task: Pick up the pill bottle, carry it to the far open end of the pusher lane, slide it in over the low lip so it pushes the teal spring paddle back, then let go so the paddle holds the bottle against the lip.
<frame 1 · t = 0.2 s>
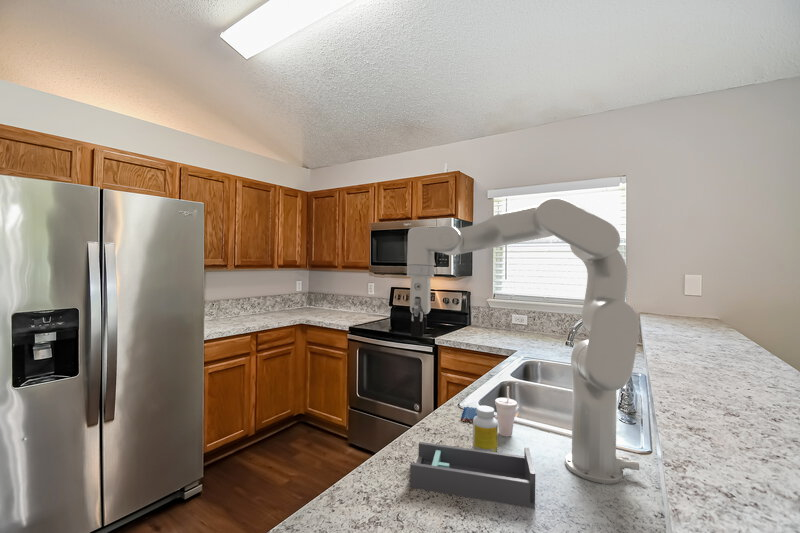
hand: (418, 333, 98), 31 cm above the worktop, tool pointing down, fingers open, 9 cm apart
pusher paddle: (441, 465, 82), point 3 cm above the worktop, slide at 0.0 cm
pill bottle: (484, 453, 94), on the worktop
lane: (470, 482, 80), on the worktop
smoothie: (505, 434, 105), on the worktop
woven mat: (478, 419, 117), on the worktop
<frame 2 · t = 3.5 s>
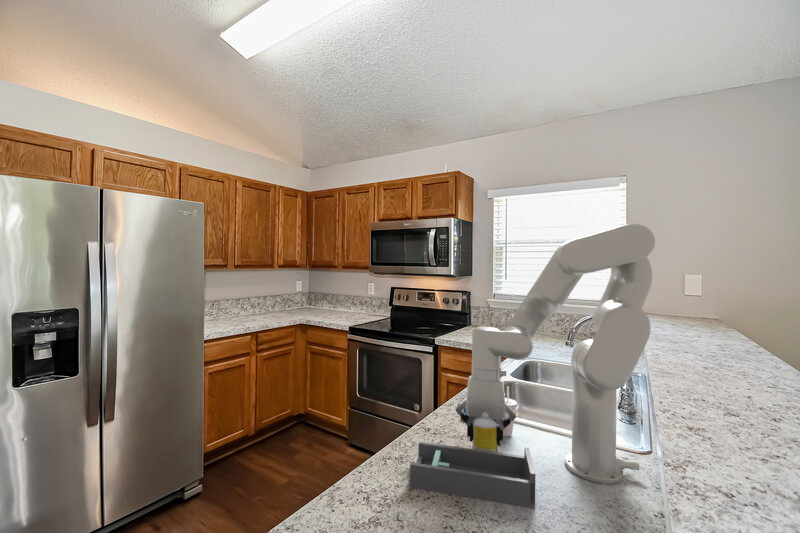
hand: (484, 440, 94), 3 cm above the worktop, tool pointing down, fingers closed on pill bottle, 6 cm apart
pill bottle: (484, 453, 94), on the worktop, touching gripper
everything else where it was.
when the fingers open (6 cm above the worktop, at t = 12.9 s): pill bottle drops 2 cm, resting on lane, pusher paddle.
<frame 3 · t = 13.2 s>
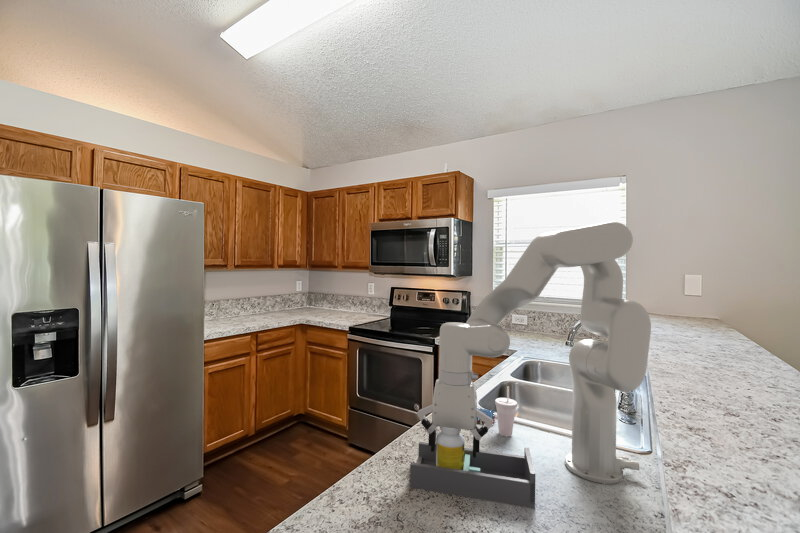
hand: (453, 451, 81), 6 cm above the worktop, tool pointing down, fingers open, 9 cm apart
pusher paddle: (472, 470, 80), point 3 cm above the worktop, slide at 7.0 cm, touching pill bottle
pill bottle: (449, 475, 81), point 1 cm above the worktop, touching lane, pusher paddle
everything else where it was.
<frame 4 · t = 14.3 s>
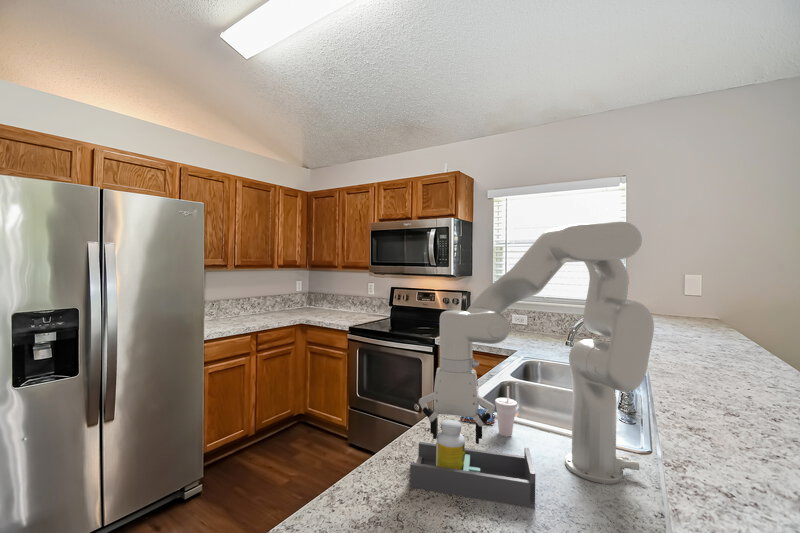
hand: (456, 438, 81), 9 cm above the worktop, tool pointing down, fingers open, 9 cm apart
nothing on the worktop moved.
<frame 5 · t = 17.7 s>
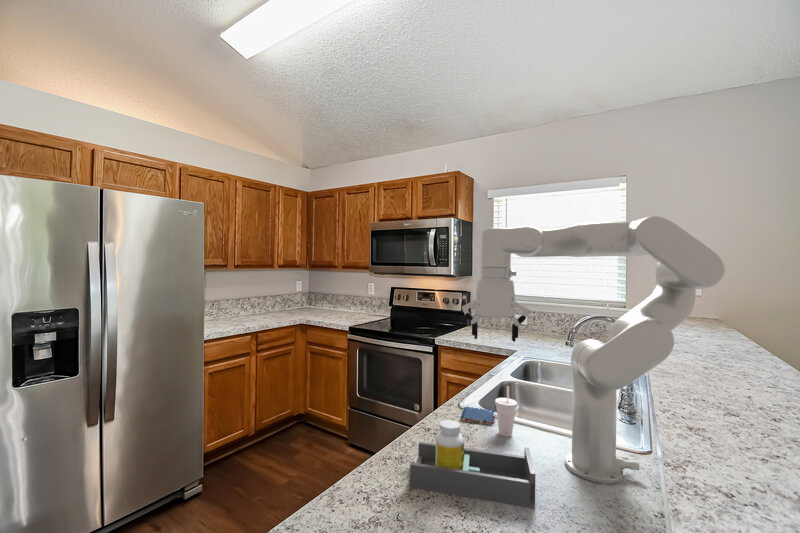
hand: (494, 339, 93), 30 cm above the worktop, tool pointing down, fingers open, 9 cm apart
nothing on the worktop moved.
at the end: pill bottle inside the target area on the lane (1.5 cm from its centre), point 0.8 cm above the lane's base; pusher paddle slide at 6.9 cm; pill bottle tilted 0° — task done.
